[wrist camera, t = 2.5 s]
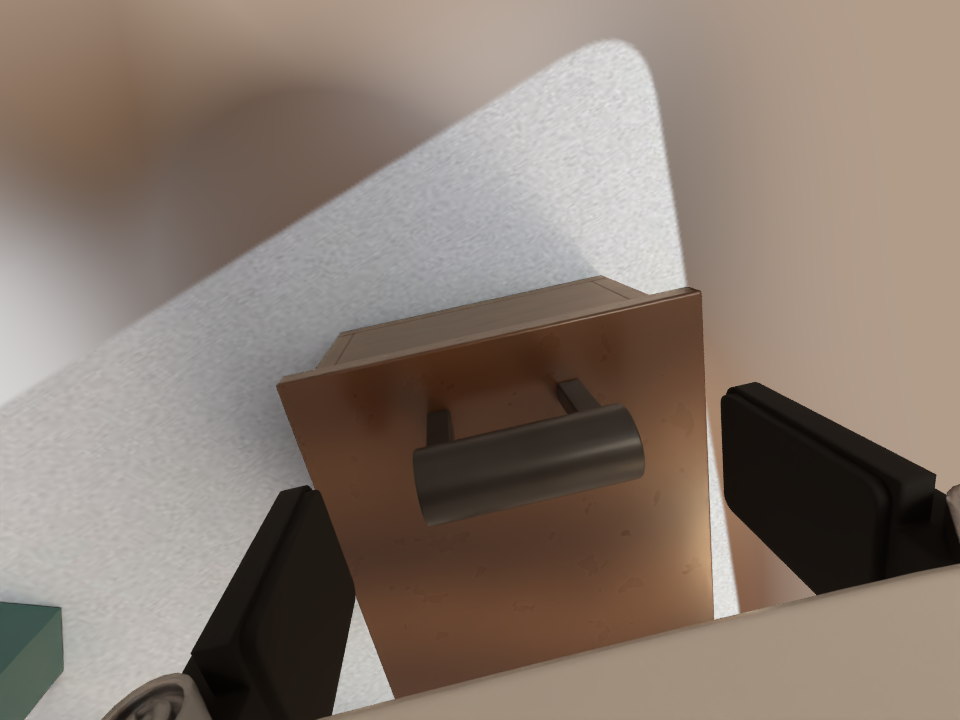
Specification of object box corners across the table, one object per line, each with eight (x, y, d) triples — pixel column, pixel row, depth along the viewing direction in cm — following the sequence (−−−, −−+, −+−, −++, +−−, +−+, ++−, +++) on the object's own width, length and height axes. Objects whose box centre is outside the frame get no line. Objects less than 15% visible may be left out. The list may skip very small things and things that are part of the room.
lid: (282, 375, 14) (204, 464, 9) (688, 285, 14) (817, 326, 9) (404, 701, 18) (394, 871, 14) (704, 627, 19) (795, 768, 14)
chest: (340, 332, 21) (292, 398, 14) (601, 274, 22) (688, 310, 14) (412, 559, 26) (404, 700, 19) (627, 508, 26) (704, 627, 19)
